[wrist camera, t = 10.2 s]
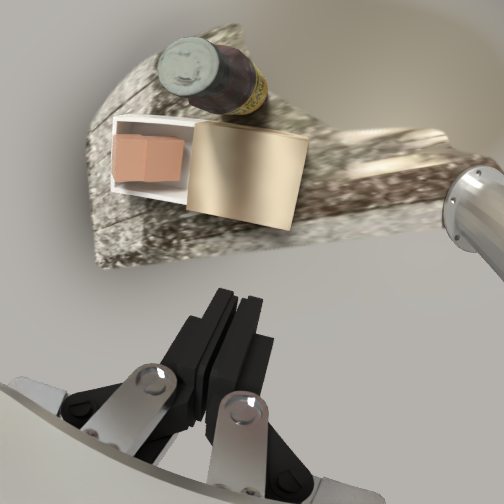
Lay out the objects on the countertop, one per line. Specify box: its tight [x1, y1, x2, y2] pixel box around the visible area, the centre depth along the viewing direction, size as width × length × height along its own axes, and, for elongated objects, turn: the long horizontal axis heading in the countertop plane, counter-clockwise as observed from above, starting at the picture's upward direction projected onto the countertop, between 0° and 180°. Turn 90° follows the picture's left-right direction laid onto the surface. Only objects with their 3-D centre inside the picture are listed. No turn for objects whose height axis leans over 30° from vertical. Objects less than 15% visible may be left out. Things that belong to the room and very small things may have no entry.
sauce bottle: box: [158, 37, 268, 115], centre depth 24 cm, size 6×6×20 cm
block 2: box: [143, 136, 184, 182], centre depth 35 cm, size 4×5×4 cm
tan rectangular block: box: [186, 120, 309, 231], centre depth 35 cm, size 12×10×6 cm
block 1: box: [111, 134, 147, 182], centre depth 34 cm, size 4×5×4 cm
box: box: [111, 114, 211, 205], centre depth 36 cm, size 12×10×4 cm
